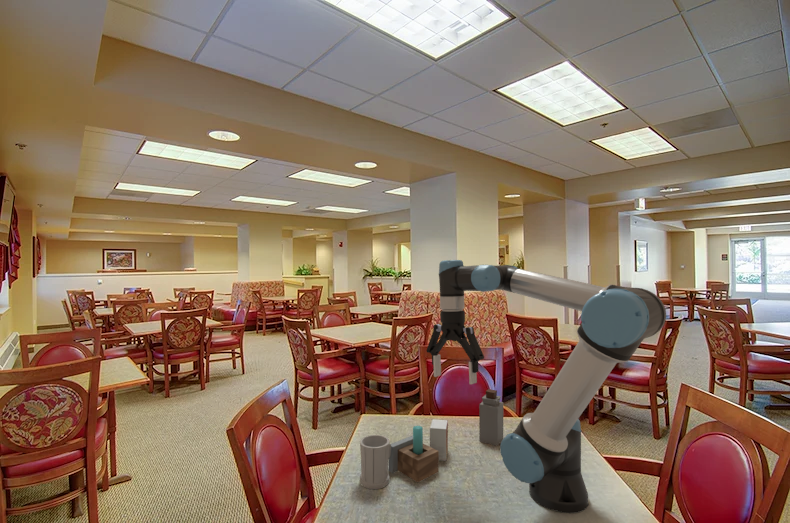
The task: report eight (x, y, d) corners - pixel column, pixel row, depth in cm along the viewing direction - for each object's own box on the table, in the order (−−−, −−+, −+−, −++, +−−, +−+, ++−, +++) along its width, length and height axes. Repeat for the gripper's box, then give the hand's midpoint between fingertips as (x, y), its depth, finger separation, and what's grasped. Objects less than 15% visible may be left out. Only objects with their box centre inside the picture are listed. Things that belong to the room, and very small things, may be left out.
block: (438, 472, 121) (438, 450, 122) (417, 482, 116) (417, 460, 116) (418, 461, 128) (418, 441, 128) (397, 470, 122) (397, 449, 122)
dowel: (424, 466, 122) (424, 427, 122) (418, 470, 120) (417, 430, 120) (418, 463, 124) (417, 425, 124) (411, 466, 122) (410, 427, 122)
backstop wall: (422, 459, 130) (422, 435, 130) (392, 473, 121) (392, 447, 121) (418, 457, 131) (418, 433, 131) (388, 470, 122) (388, 444, 123)
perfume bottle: (503, 438, 145) (503, 390, 145) (497, 445, 139) (497, 395, 140) (485, 434, 149) (485, 387, 149) (479, 441, 143) (479, 391, 143)
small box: (446, 461, 128) (446, 429, 128) (429, 459, 129) (429, 427, 129) (448, 450, 136) (448, 419, 136) (432, 448, 137) (432, 418, 137)
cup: (362, 470, 122) (362, 432, 123) (391, 471, 122) (391, 432, 122) (357, 489, 112) (358, 447, 112) (389, 490, 112) (389, 448, 112)
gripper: (494, 310, 115) (496, 384, 114) (429, 307, 133) (431, 371, 132) (479, 312, 110) (482, 389, 109) (414, 309, 128) (416, 375, 127)
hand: (454, 379), depth 120 cm, fingers open, 13 cm apart
